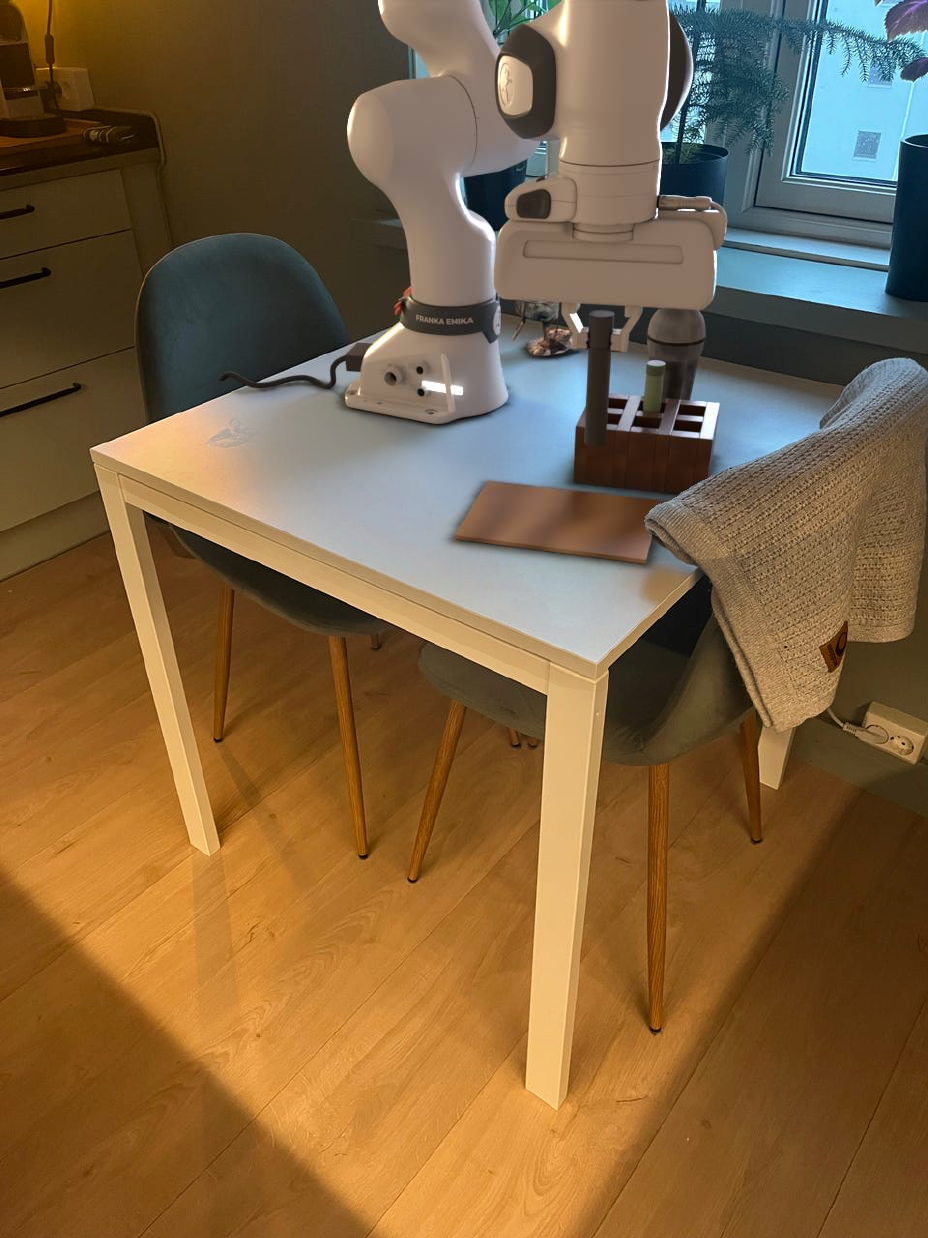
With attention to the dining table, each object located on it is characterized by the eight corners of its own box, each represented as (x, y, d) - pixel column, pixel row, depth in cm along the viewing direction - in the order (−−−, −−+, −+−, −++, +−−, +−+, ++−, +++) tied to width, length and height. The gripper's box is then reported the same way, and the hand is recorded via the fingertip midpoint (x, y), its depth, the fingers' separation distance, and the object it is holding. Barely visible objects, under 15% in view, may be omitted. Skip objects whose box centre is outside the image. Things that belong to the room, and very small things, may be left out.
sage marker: (636, 464, 114) (645, 365, 107) (639, 457, 116) (647, 358, 109) (654, 466, 114) (664, 367, 107) (656, 458, 115) (666, 360, 108)
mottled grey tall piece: (508, 341, 151) (509, 206, 139) (580, 338, 151) (586, 203, 140) (513, 359, 144) (514, 219, 133) (588, 356, 144) (595, 216, 133)
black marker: (581, 445, 96) (587, 316, 89) (585, 436, 98) (591, 309, 91) (604, 448, 96) (612, 317, 88) (608, 438, 98) (616, 310, 90)
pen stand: (572, 482, 111) (575, 426, 107) (589, 445, 119) (592, 391, 115) (705, 497, 107) (712, 439, 103) (712, 457, 115) (720, 402, 111)
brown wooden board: (454, 539, 101) (454, 535, 101) (487, 484, 111) (487, 480, 111) (645, 564, 96) (645, 559, 96) (661, 504, 106) (661, 500, 106)
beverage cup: (699, 415, 126) (719, 258, 114) (691, 438, 120) (711, 274, 108) (643, 409, 128) (657, 254, 116) (633, 431, 122) (647, 270, 110)
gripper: (732, 189, 84) (713, 345, 91) (505, 183, 89) (506, 332, 97) (727, 204, 79) (707, 368, 86) (487, 197, 84) (489, 352, 92)
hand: (599, 349), depth 92 cm, fingers closed on black marker, 2 cm apart
